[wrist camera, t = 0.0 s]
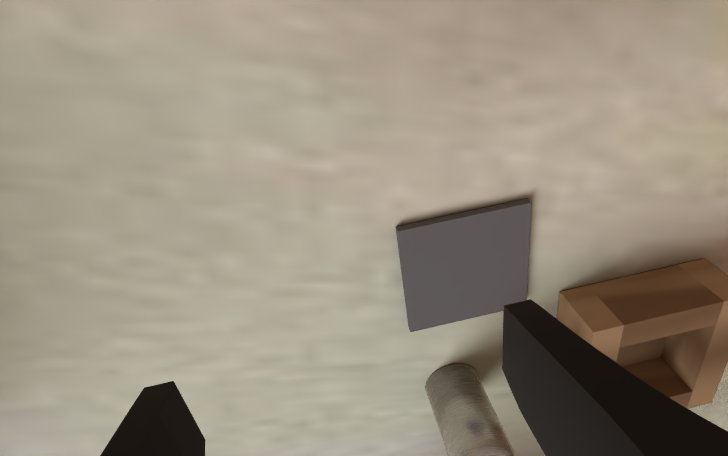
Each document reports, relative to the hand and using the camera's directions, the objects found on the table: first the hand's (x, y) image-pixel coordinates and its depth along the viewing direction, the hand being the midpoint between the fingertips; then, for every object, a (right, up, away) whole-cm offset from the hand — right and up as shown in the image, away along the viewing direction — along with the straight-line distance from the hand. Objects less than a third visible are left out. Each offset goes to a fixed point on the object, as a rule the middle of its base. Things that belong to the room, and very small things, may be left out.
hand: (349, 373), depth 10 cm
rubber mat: (+5, +1, +12) cm, 13 cm away
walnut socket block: (+15, -3, +16) cm, 22 cm away
